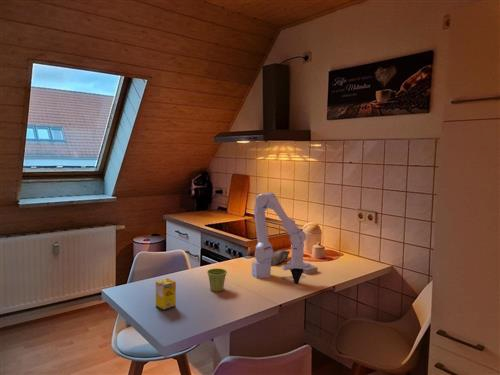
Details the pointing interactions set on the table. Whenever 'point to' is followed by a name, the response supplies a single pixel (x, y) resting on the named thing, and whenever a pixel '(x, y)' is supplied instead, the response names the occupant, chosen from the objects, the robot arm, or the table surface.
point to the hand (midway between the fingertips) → (296, 283)
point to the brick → (308, 269)
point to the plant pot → (216, 279)
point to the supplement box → (165, 294)
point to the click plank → (293, 279)
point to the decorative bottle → (279, 257)
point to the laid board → (291, 277)
